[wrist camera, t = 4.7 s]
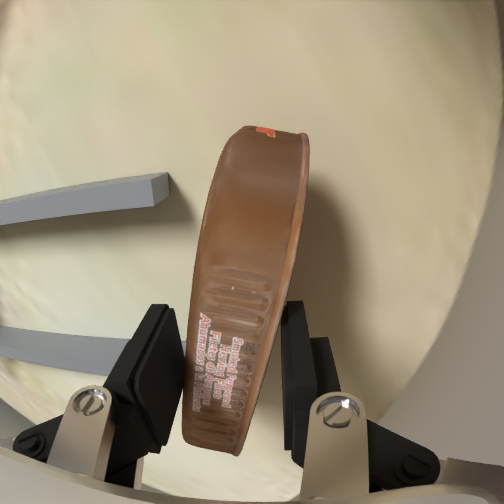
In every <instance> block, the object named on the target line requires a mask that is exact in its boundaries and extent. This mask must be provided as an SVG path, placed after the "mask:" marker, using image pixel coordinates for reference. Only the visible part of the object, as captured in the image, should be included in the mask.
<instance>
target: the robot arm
mask: <svg viewBox="0 0 504 504" xmlns="http://www.w3.org/2000/svg"><path fill="white" fill-rule="evenodd" d="M281 359H282V391H283V419H284V450H291V456H292V459H293V462H295V463H296V464H298V465H299V466H300V467H302V468H303V476H302V483H301V490H300V497H299V501H287V502H238V501H219V500H206V499H196V498H187V497H179V496H172V495H165V494H159V493H152V492H147V491H142V490H141V481H142V472H143V463H144V457H143V456H145V455H147V454H148V452H150V453H157V454H160V450H161V447H162V446H166V444H167V442H168V439H169V435H170V432H171V428H172V425H173V421H174V417H175V414H176V410H177V407H178V404H179V400H180V397H181V393H182V390H183V380H184V365H185V355H184V351H183V347H182V343H181V338H180V334H179V330H178V325H177V320H176V316H175V311H174V309H173V308H169V306H168V305H167V304H152V305H151V306H150V308H149V309H148V311H147V313H146V314H145V316H144V318H143V319H142V321H141V323H140V325H139V326H138V328H137V330H136V332H135V333H134V335H133V337H132V339H130V340H129V341H128V342H127V344H126V345H125V347H124V349H123V351H122V352H121V354H120V356H119V358H118V360H117V361H116V363H115V365H114V367H113V369H112V370H111V372H110V374H109V376H108V378H107V379H106V381H105V383H104V385H103V387H102V386H96V385H95V386H87V387H84V388H82V389H80V390H78V391H77V392H76V393H74V394H73V395H72V397H71V398H70V400H69V402H68V405H67V408H66V410H65V413H64V414H63V415H60V416H58V417H56V418H53V419H51V420H49V421H46V422H44V423H41V424H39V425H37V426H34V427H32V428H29V429H27V430H25V431H23V432H21V433H20V434H19V435H18V436H17V437H16V439H14V438H13V437H11V438H5V439H0V504H504V467H503V466H500V465H491V464H484V463H477V462H470V461H464V460H458V459H453V458H447V460H446V461H444V460H439V459H438V457H437V456H436V455H435V454H434V452H432V451H430V450H429V449H427V448H425V447H423V446H421V445H419V444H417V443H414V442H412V441H410V440H408V439H406V438H404V437H402V436H400V435H398V434H396V433H394V432H391V431H389V430H387V429H385V428H383V427H381V426H379V425H377V424H376V423H374V422H372V421H370V420H368V419H366V409H365V406H364V404H363V403H362V401H361V400H360V399H359V398H357V397H356V396H354V395H352V394H349V393H345V392H341V389H340V384H339V380H338V376H337V371H336V367H335V363H334V359H333V355H332V351H331V347H330V343H329V339H328V337H320V338H309V332H308V326H307V321H306V315H305V309H304V304H303V301H287V306H284V308H283V311H282V316H281Z"/></svg>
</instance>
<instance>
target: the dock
mask: <svg viewBox="0 0 504 504" xmlns="http://www.w3.org/2000/svg"><path fill="white" fill-rule="evenodd" d="M168 196H170V190H169V181H168V172H166V173H157V174H149V175H141V176H133V177H126V178H119V179H112V180H105V181H99V182H92V183H86V184H80V185H75V186H69V187H63V188H58V189H53V190H48V191H43V192H38V193H33V194H28V195H23V196H19V197H14V198H10V199H6V200H1V201H0V225H5V224H12V223H18V222H25V221H32V220H39V219H46V218H53V217H60V216H68V215H76V214H84V213H93V212H102V211H111V210H120V209H130V208H140V207H150V206H155V205H157V204H158V203H159V202H161V201H162V200H164V199H165V198H167V197H168ZM129 340H130V339H115V338H101V337H89V336H77V335H67V334H57V333H49V332H40V331H32V330H25V329H17V328H11V327H4V326H0V356H2V357H6V358H10V359H14V360H19V361H23V362H28V363H32V364H37V365H42V366H48V367H53V368H58V369H64V370H70V371H76V372H83V373H90V374H97V375H104V376H109V374H110V372H111V370H112V369H113V367H114V365H115V363H116V361H117V360H118V358H119V356H120V354H121V352H122V351H123V349H124V347H125V345H126V344H127V342H128V341H129ZM181 343H182V347H183V351H184V355H185V351H186V341H181Z"/></svg>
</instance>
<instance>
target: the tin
mask: <svg viewBox="0 0 504 504" xmlns="http://www.w3.org/2000/svg"><path fill="white" fill-rule="evenodd" d="M309 154H310V146H309V139H308V135H307V134H305V133H300V134H293V133H288V132H283V131H278V130H273V129H268V128H263V127H256V126H244V127H242V128H241V129H240V130H238V131H237V132H236V133H235V134H234V135H232V136H231V137H230V138H229V140H228V141H227V143H226V145H225V146H224V149H223V151H222V153H221V156H220V158H219V161H218V164H217V167H216V170H215V174H214V177H213V180H212V183H211V187H210V190H209V194H208V198H207V202H206V206H205V211H204V215H203V220H202V225H201V231H200V236H199V241H198V247H197V253H196V260H195V266H194V274H193V282H192V292H191V299H190V310H189V319H188V328H187V339H186V351H185V365H184V380H183V400H182V435H183V439H184V440H185V442H187V443H188V444H190V445H193V446H196V447H200V448H205V449H210V450H215V451H220V452H226V453H231V454H232V455H234V456H236V457H237V456H239V454H240V452H241V450H242V447H243V445H244V442H245V439H246V436H247V433H248V430H249V426H250V423H251V419H252V417H253V414H254V410H255V407H256V403H257V400H258V397H259V393H260V389H261V386H262V383H263V380H264V376H265V372H266V369H267V366H268V362H269V358H270V355H271V351H272V348H273V345H274V341H275V337H276V333H277V330H278V326H279V323H280V319H281V316H282V311H283V308H284V305H285V301H286V297H287V293H288V289H289V285H290V281H291V277H292V273H293V269H294V264H295V259H296V254H297V249H298V243H299V237H300V232H301V227H302V221H303V216H304V207H305V199H306V191H307V183H308V174H309Z"/></svg>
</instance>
